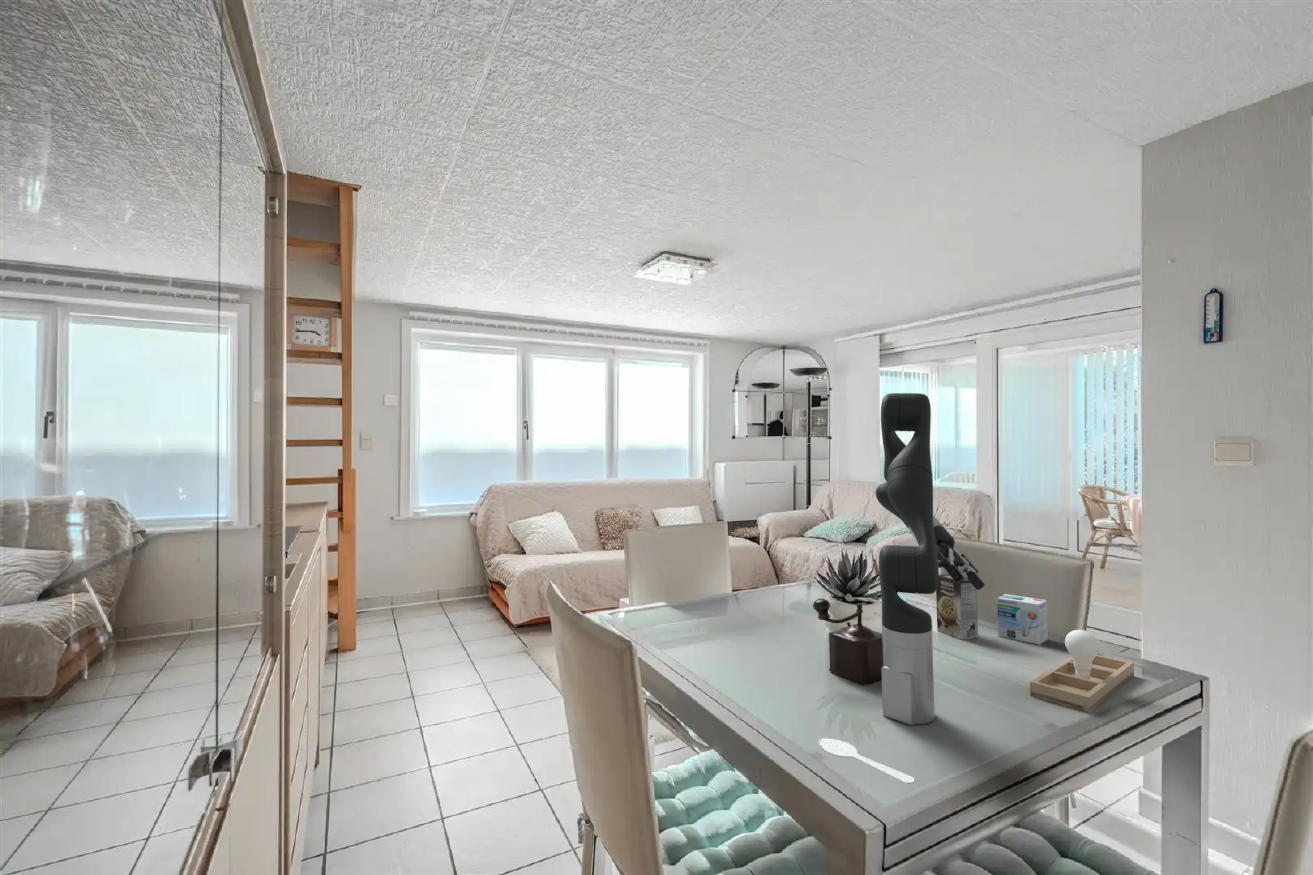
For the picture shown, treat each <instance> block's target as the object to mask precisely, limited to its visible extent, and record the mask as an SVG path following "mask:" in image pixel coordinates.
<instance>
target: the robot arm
mask: <svg viewBox="0 0 1313 875" xmlns="http://www.w3.org/2000/svg"><path fill="white" fill-rule="evenodd" d="M931 418H932V407H931V402H930V398H929V397H928V396H927V395H926V394H925V393H919V392H918V393H917V392H915V393H913V392H905V393H904V392H900V393H897V392H895V393H893V392H892V393H887V394H885V395H884V396H883V398H882V400H881V405H880V427H881V428H880V429H881V438H882V445H883V452H884V462H883V463H884V466H883V478H884V480H885V482H883V483H881V484H879V485H877V487H876V488H875V497H876V499H877V501H878V503H879V504H880V505H881V506H882V507H883V508H884V509H885V510H886V511H888V512H890V513H891V514H893V515H894V517H895V516H896V517H897V518H898V519H899V520H901V521H902V522H903V524H904V525H905V527H906V528H907V529H908V530H909V532H910V534H911V536H912V537H913V538H914V540H915V541H916V542H917V544H918V545H916V546H914V545H898V544H897V545H895V544H894V545H891V544H890V545H889V544H887V545H883V546H882V547H881V549H880V551H879V554H878V571H879V572H878V574H879V583H880V584H879V585H880V596H881V631H882V632H881V633H882V642H883V667H882V668H881V672H882V680H881V698H882V699H881V700H882V701H881V702H882V703H881V704H882V716H885V717H887V718H890V719H893V720H896V721H898V722H901V723H903V724H906V725H909V726H914V725H922V724H929V723H931V722H933V721H934V720H935V718H936V715H935V714H936V713H935V712H936V711H935V710H936V708H935V681H934V680H935V679H934V655H933V654H934V650H933V644H934V643H933V620H932V616H931V614H930V613H929V612H928V611H926V610H924V609H923V608H919V607H917V606H914V605H913V604H910V603H908V602H907V601H905V600H904V599H903V598H901V597H900V596H899V593H904V594H918V595H932V594H934V593H935V592H936V590H937V587H938V581H939V575H940V573H939V568H940V569H943V571H945V572H946V573H947V574H949V575H950V576H951V577H952V579H953V580H954V581H955V582H956V583H958V584H959V583H961V582H962V581H963V580H964V577H966V578H967V579H968V580H969V581H970V582H971V583H972V585H973V586H974V587H975V588H976V589H977V591H981V590H982V589H983V588H984V587H985V585H986V584H985V582H984V581H983V580H982V579H981V578H980V577H979V575H978V573H979V572H980V571H979V570H978V568H977V567H976V566H975V565H974V564H973V563H972V562H971V560H969V559H968V557H967V556H966V555H965V554H964V553H960V552H959V551H958V550H956V549H954V548H955V544H956V543H955V541H956V540H955V538H954V537H953V535H951V533H950V532H949V531H948V530H947V528H946V527H945V526H944V525H943V524H942V523H941V522H940V521H939V519H937V518H936V517H935V516H934V482H933V481H934V480H933V470H932V467H933V466H932V457H931V456H932V455H931V422H932V421H931V420H932V419H931ZM896 432H914V433H913V434H912V437H911V439H910V441H909V442H908V444H906V443H905V442H904V441H903V440H901V438H900V437H899V435H898V434H897V433H896Z"/></svg>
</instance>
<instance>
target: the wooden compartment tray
mask: <svg viewBox="0 0 1313 875" xmlns="http://www.w3.org/2000/svg"><path fill="white" fill-rule="evenodd" d="M1134 665H1135V664H1134V662H1132V661H1128V660H1122V659H1119V658H1113V657H1110V656H1105V655H1099V654H1097V655H1096V656H1095V658H1094V659H1093V662H1092V668H1091V670H1090V679H1084V678H1080V677H1076V671H1075V667H1074V662H1073V659H1072V656H1071V655H1070V656H1069V657H1068V658H1066V659H1064V660H1063V661H1061V662H1059V663H1057V664H1056V665H1055V666H1052V667H1050V669H1048V670H1046V671H1045V672H1043V673H1042V674H1040V675H1038V676H1036V678H1034V679H1032V680H1030V681H1029V689H1030V692H1029V693H1030V694H1029V695H1030V697H1033V698H1036V699H1039V700H1043V701H1046V702H1051V703H1054V704H1057V705H1060V706H1065V707H1068V708H1071V709H1074V710H1075V709H1076V710H1078V711H1082V712H1085V713H1092V712H1093V711H1094V710H1095V709H1096V708H1097V707H1099V706H1100V705H1101V704H1102V703H1103V702H1104V701H1106V700H1107V699H1109V697H1110V696H1112V695H1113V694H1115V692H1117V691H1118V690H1119V689H1120V688H1121V687H1123V686H1124V685H1125V684H1126V683H1128V682H1130V680H1131V679H1132V678H1134V676H1135V670H1134V669H1135V666H1134Z"/></svg>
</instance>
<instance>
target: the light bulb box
mask: <svg viewBox="0 0 1313 875" xmlns="http://www.w3.org/2000/svg"><path fill="white" fill-rule="evenodd" d="M996 610H997V611H996V612H997V613H996V614H997V615H996V617H997V618H996V620H997V624H996V625H997V636H998V637H1003V638H1007V639H1011V640H1015V641H1021V642H1025V643H1031V644H1035V645H1042V644H1043V643H1045V642H1047V641H1048V640H1049V636H1048V635H1049V634H1048V603H1047V599H1043V598H1034V597H1028V596H1021V595H1015V594H1008V593H1004V594H1003V595H1000V596H999V597H996Z"/></svg>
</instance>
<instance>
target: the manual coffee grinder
mask: <svg viewBox="0 0 1313 875" xmlns="http://www.w3.org/2000/svg"><path fill="white" fill-rule="evenodd" d="M812 607H813V610H814V611H816V612H817V615H818V616H817V619H818V620H819V621H825V622H827V623H832V624H842V623H846V625H847V626H843V627H840V629H838V630H834V631H830V632H828V647H829V648H828V652H829V655H828V656H829V669H828V670H829V672H831V673H832V674H834V675H835V676H838V677H840V678H842V679H845V680H847V681H849V682H852V683H854V684H855V683H856V684H857V685H861V686H867V685H871V684H874V683H877V682H880V681H881V682H882V672H881V668H882V667H883V642H882V632H879V631H877V630H876V631H875V630H872V628H869V627H868V626H865V625H863V623H862V617H863V616H862V614H863V613H864V610H863V604H862V603H856V611H855V612H854V613H853V614H851V615H849V616H847V617H843V618H840V619H835V618H831V614H829V610H830V608H831V602H830V601H829V600H828V599H825V598H818V599H816V600H815V601H813V604H812ZM856 618H857V623H856V624H855V623H854V624H851V622H849V621H851V620H854V619H856Z"/></svg>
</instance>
